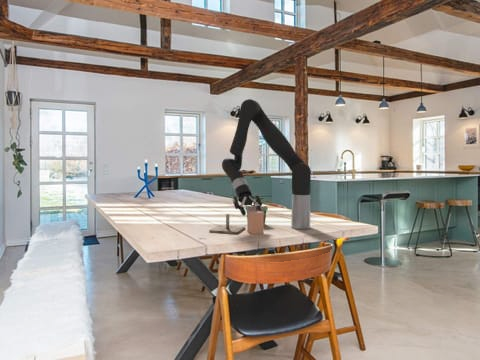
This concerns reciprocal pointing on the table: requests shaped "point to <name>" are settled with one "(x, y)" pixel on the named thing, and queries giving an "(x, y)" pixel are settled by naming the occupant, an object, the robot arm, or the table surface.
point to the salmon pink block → (255, 222)
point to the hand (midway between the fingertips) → (252, 214)
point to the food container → (256, 210)
